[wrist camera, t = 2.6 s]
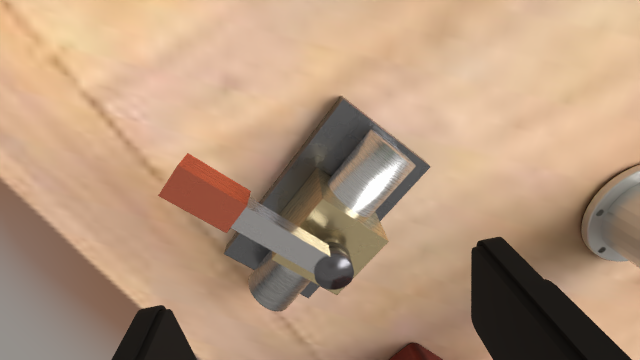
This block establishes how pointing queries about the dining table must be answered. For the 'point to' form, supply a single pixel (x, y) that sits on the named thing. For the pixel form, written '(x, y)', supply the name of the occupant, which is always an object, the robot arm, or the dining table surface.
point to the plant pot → (415, 353)
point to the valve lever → (254, 221)
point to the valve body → (331, 200)
